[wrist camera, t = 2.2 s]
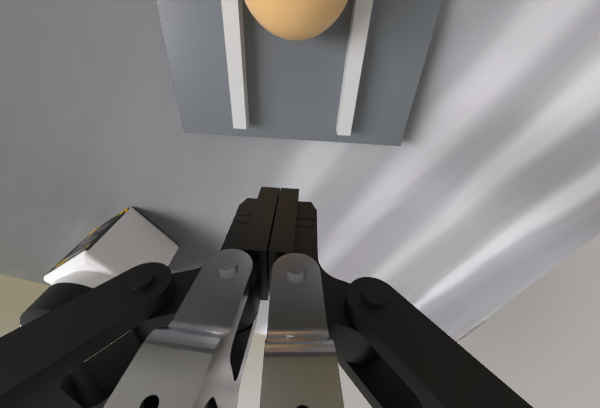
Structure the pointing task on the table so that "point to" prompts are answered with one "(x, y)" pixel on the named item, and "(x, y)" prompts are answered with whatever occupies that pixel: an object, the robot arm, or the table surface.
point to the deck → (298, 71)
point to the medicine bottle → (102, 260)
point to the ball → (296, 16)
